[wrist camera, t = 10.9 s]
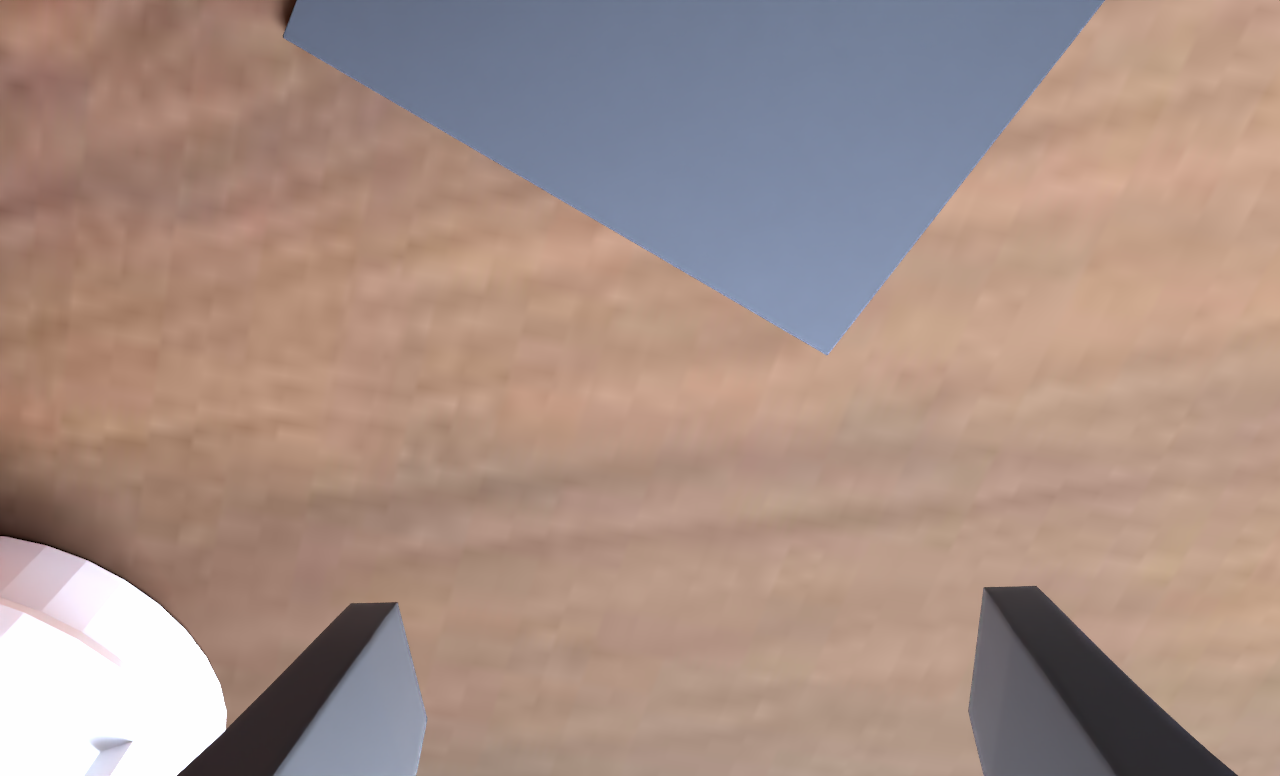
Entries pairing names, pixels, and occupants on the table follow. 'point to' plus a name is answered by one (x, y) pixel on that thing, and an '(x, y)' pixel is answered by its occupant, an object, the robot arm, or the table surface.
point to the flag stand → (95, 673)
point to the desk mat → (721, 119)
